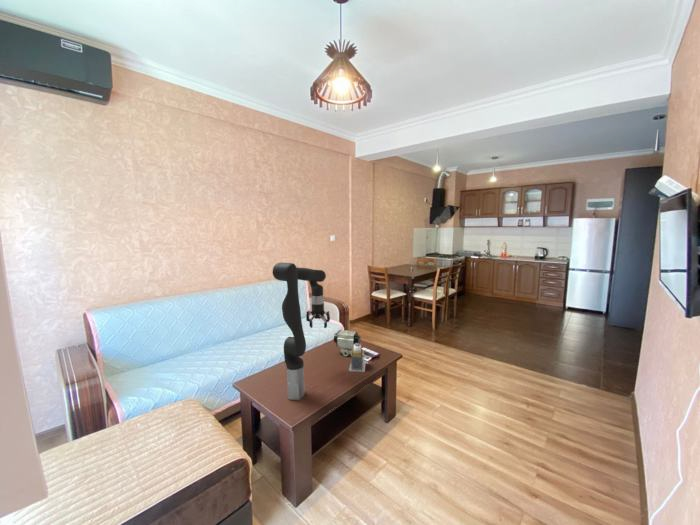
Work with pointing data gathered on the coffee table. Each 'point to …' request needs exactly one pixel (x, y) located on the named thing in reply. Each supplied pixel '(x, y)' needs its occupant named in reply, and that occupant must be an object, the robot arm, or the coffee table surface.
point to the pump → (357, 347)
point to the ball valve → (346, 341)
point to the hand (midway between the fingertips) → (318, 327)
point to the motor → (357, 361)
